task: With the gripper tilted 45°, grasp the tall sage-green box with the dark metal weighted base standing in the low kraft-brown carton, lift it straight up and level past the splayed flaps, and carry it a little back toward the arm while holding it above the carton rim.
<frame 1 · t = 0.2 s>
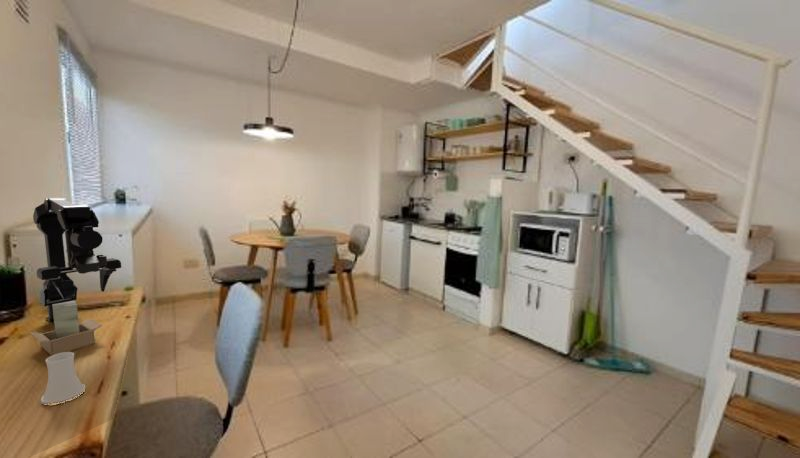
hand: (84, 294, 108), 15 cm above the table, tool pointing down, fingers open, 9 cm apart
vase: (64, 397, 82), on the table
carton: (68, 344, 106), on the table
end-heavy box: (66, 324, 105), in the carton
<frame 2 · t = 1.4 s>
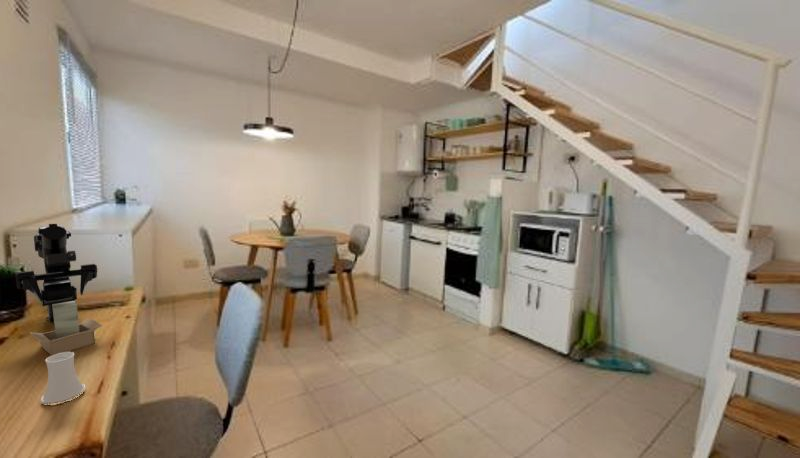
hand: (62, 297, 109), 13 cm above the table, tool tilted 45°, fingers open, 9 cm apart
nothing on the table moved.
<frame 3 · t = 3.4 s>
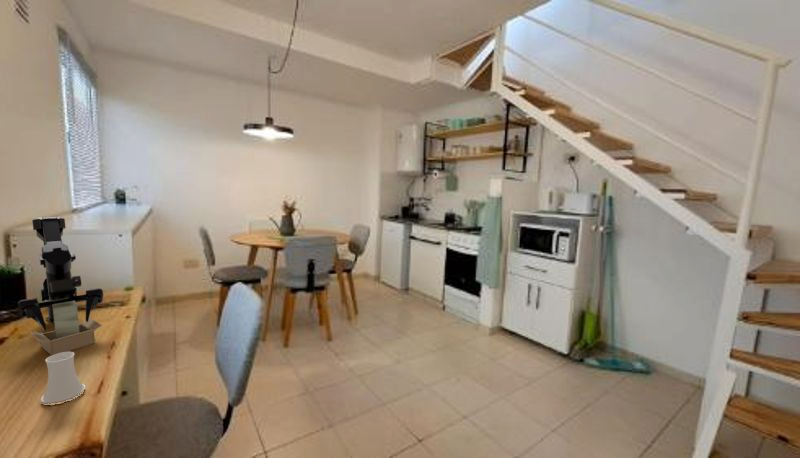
hand: (66, 325, 104), 7 cm above the table, tool tilted 45°, fingers open, 9 cm apart
nothing on the table moved.
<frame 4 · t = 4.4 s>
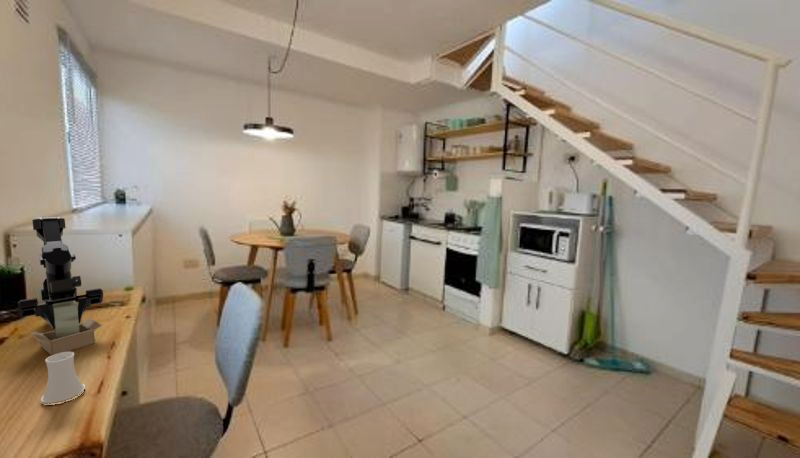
hand: (66, 325, 104), 7 cm above the table, tool tilted 45°, fingers closed on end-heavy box, 5 cm apart
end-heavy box: (66, 324, 105), in the carton, touching gripper
everything else where it was.
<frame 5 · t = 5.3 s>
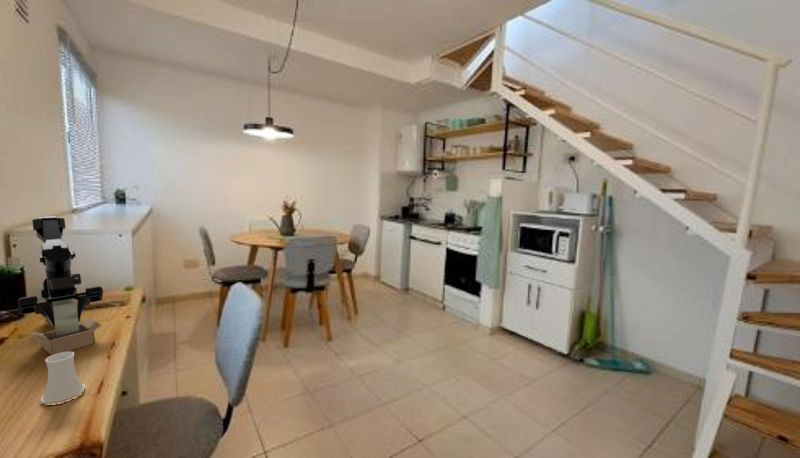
hand: (66, 323, 104), 7 cm above the table, tool tilted 45°, fingers closed on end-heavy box, 5 cm apart
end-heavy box: (66, 322, 105), in the carton, point 7 cm above the table, touching gripper
everything else where it was.
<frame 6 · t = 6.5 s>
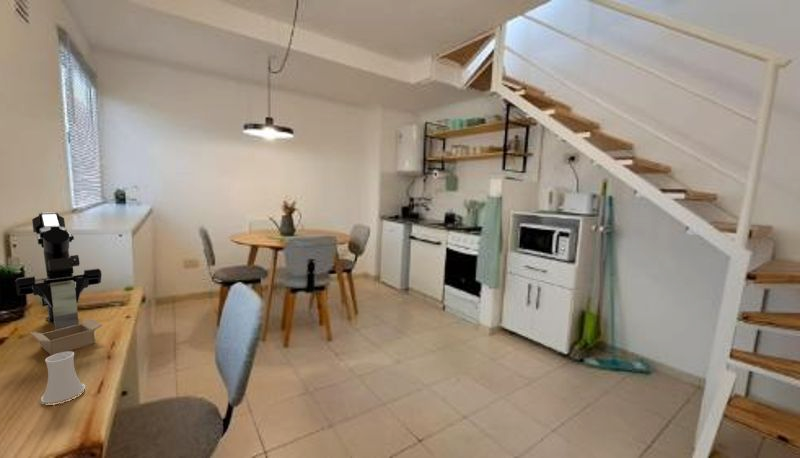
hand: (64, 304, 103), 13 cm above the table, tool tilted 45°, fingers closed on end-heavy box, 5 cm apart
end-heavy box: (64, 304, 104), point 13 cm above the table, touching gripper
everything else where it was.
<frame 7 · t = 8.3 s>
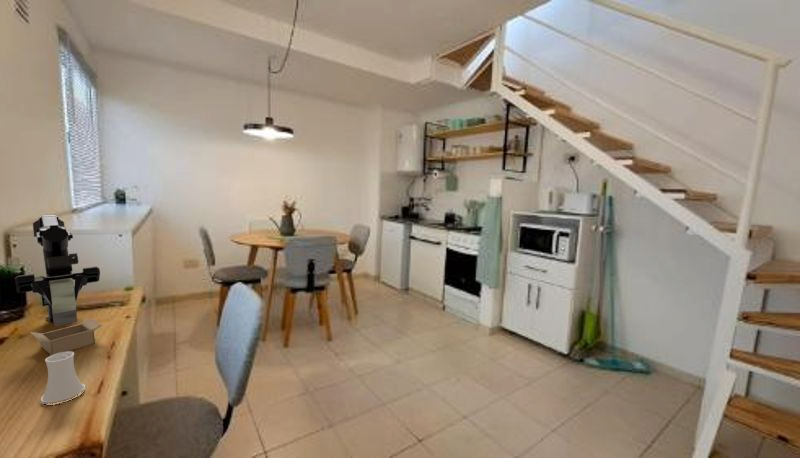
hand: (63, 302, 105), 13 cm above the table, tool tilted 45°, fingers closed on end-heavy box, 5 cm apart
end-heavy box: (63, 301, 106), point 13 cm above the table, touching gripper
everything else where it was.
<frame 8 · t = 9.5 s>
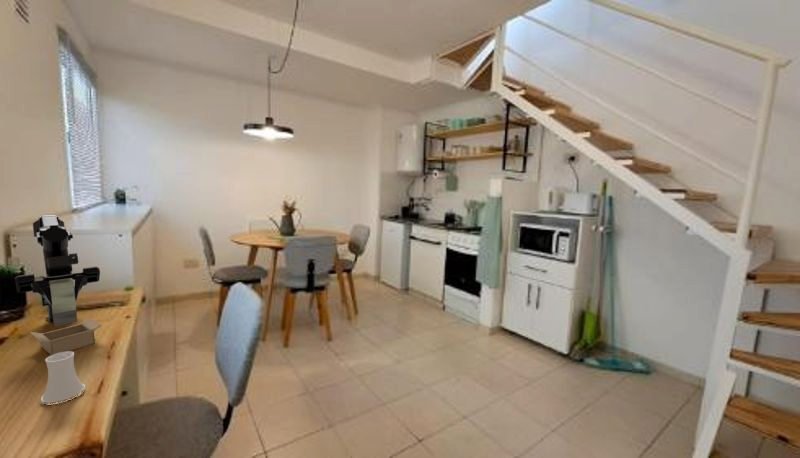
hand: (63, 302, 105), 13 cm above the table, tool tilted 45°, fingers closed on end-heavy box, 5 cm apart
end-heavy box: (63, 301, 106), point 13 cm above the table, touching gripper
everything else where it was.
at the end: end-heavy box point 13.2 cm above the table; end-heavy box tilted 0°; the gripper is holding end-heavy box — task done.
